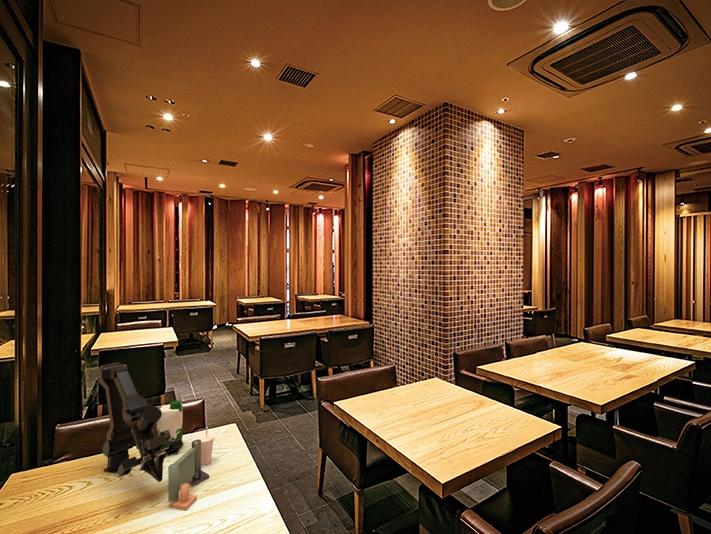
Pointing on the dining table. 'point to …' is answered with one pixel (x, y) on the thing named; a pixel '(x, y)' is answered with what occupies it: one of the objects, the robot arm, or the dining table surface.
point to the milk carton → (171, 421)
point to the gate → (180, 473)
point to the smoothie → (206, 447)
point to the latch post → (184, 498)
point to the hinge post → (198, 466)
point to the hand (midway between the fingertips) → (160, 481)
